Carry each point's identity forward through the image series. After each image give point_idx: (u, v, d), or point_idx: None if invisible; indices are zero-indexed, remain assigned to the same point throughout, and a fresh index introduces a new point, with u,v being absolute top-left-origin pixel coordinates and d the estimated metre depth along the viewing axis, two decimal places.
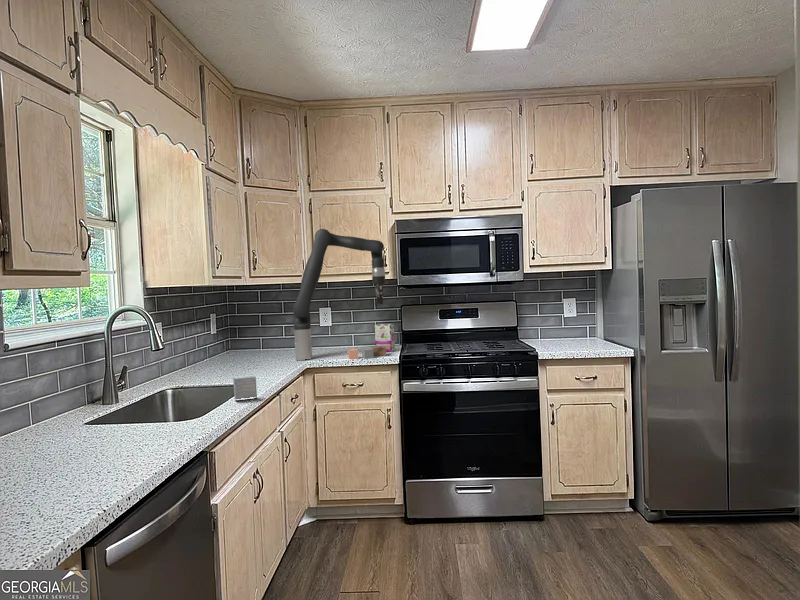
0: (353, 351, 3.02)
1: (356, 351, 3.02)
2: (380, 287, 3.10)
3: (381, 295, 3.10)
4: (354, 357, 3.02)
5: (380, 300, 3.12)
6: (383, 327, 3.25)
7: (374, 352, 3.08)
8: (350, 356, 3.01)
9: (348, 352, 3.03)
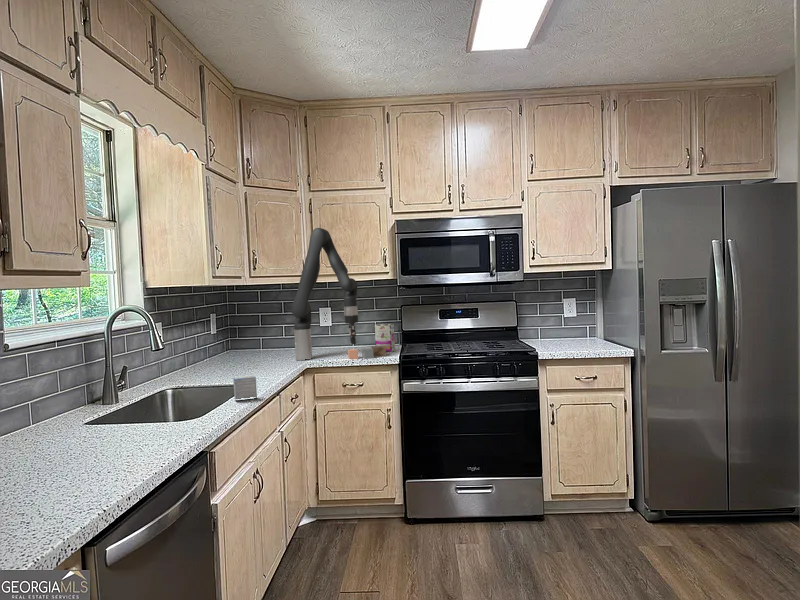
0: (353, 351, 3.02)
1: (356, 351, 3.02)
2: (352, 327, 2.97)
3: (354, 335, 2.97)
4: (354, 357, 3.02)
5: (353, 340, 2.99)
6: (383, 327, 3.25)
7: (374, 352, 3.08)
8: (350, 356, 3.01)
9: (348, 352, 3.03)
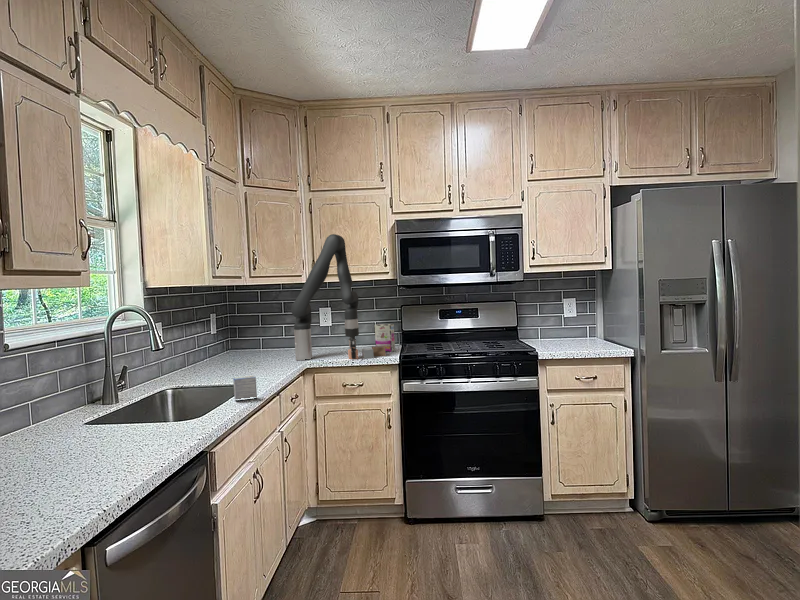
0: None
1: (356, 351, 3.02)
2: (353, 342, 2.97)
3: (354, 350, 2.98)
4: None
5: (353, 355, 3.00)
6: (383, 327, 3.25)
7: (374, 352, 3.08)
8: (350, 356, 3.01)
9: (348, 352, 3.03)
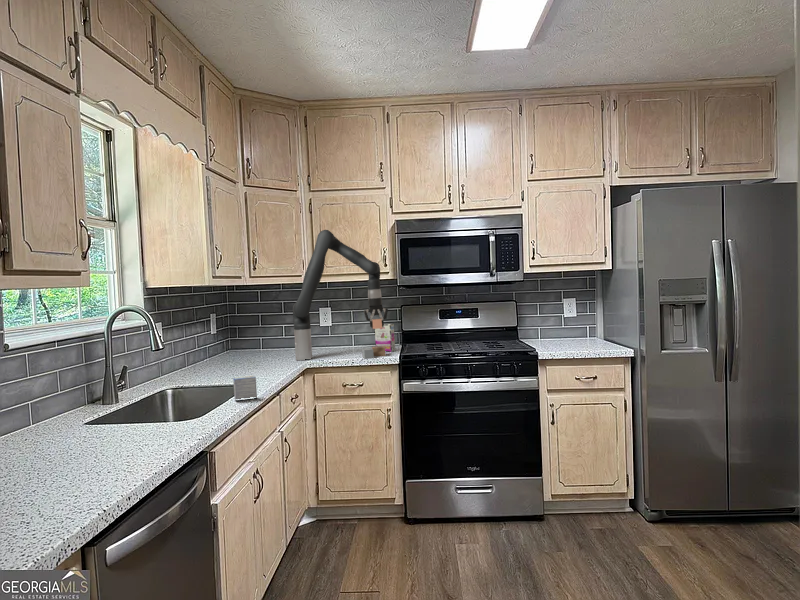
0: (372, 320, 3.09)
1: (372, 321, 3.07)
2: (364, 312, 3.08)
3: (366, 319, 3.08)
4: None
5: (370, 324, 3.09)
6: (383, 327, 3.25)
7: (374, 352, 3.08)
8: None
9: None
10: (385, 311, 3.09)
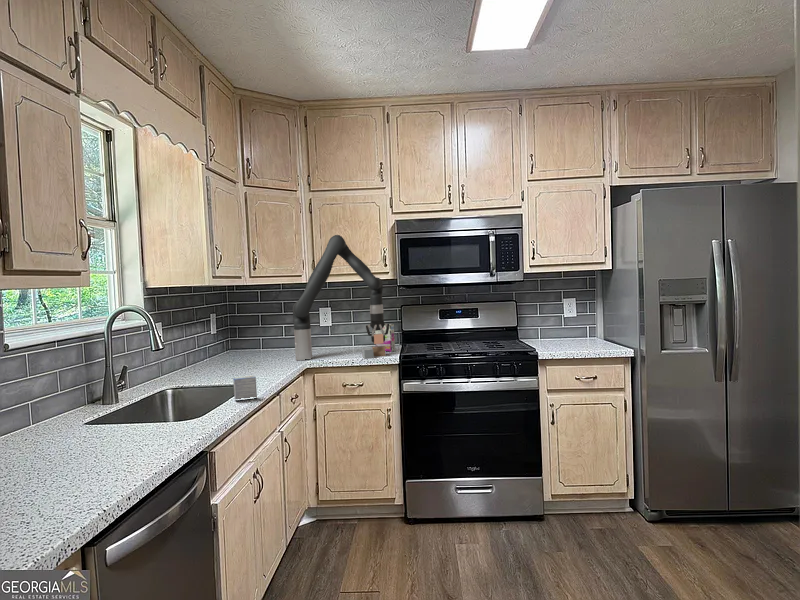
0: None
1: (374, 336, 3.09)
2: None
3: (368, 334, 3.10)
4: (374, 341, 3.10)
5: (371, 339, 3.11)
6: (383, 327, 3.25)
7: (373, 352, 3.08)
8: None
9: None
10: (387, 326, 3.11)
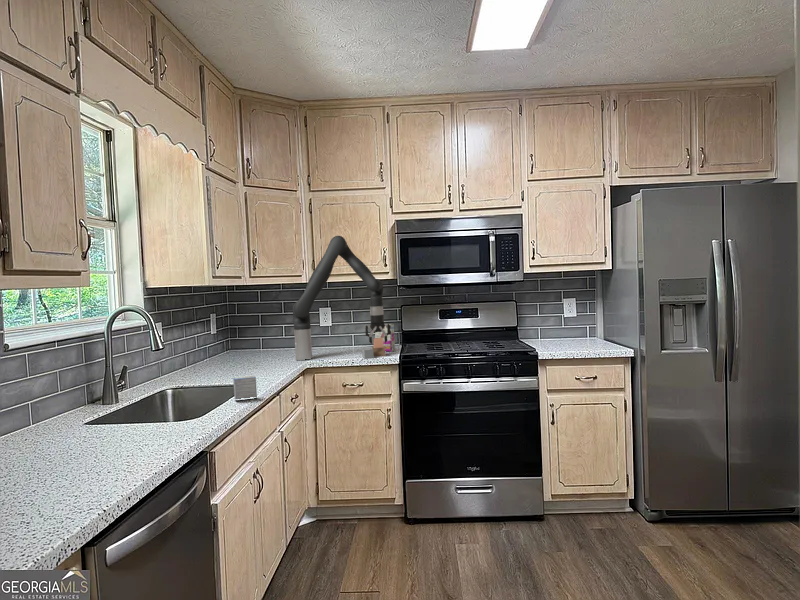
0: (373, 339, 3.11)
1: (374, 340, 3.09)
2: (365, 327, 3.10)
3: None
4: (374, 345, 3.10)
5: (369, 340, 3.11)
6: None
7: (373, 352, 3.08)
8: None
9: None
10: (387, 327, 3.11)
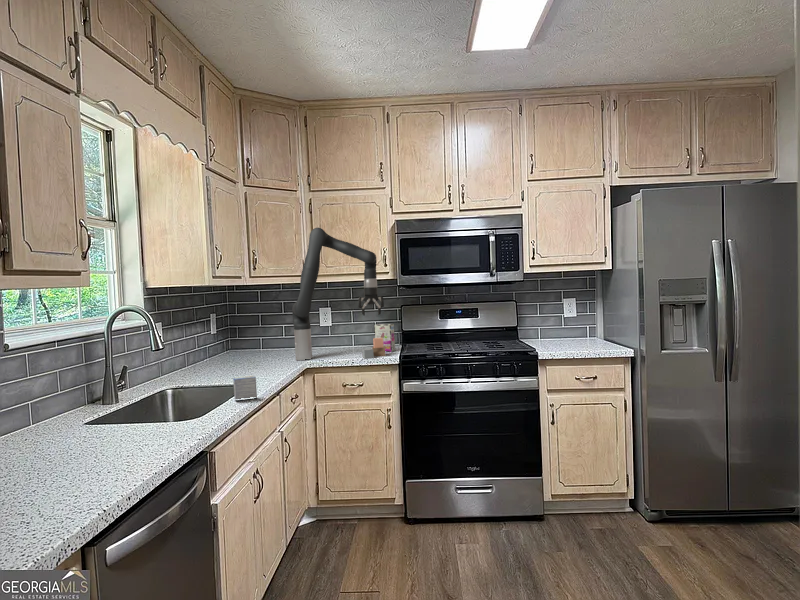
0: (373, 339, 3.11)
1: (374, 340, 3.09)
2: None
3: None
4: (374, 345, 3.11)
5: (362, 311, 3.11)
6: (383, 327, 3.25)
7: (373, 352, 3.08)
8: (373, 344, 3.13)
9: None
10: (381, 299, 3.11)
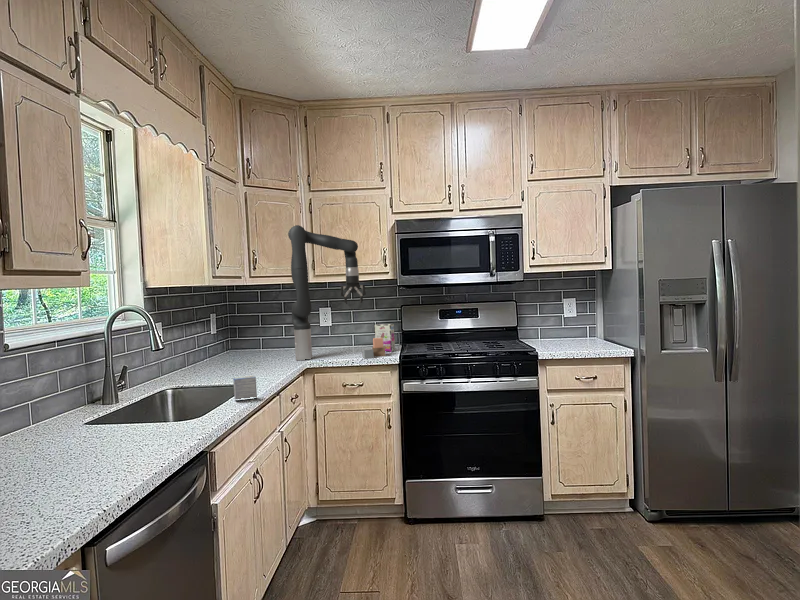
0: (373, 339, 3.11)
1: (373, 340, 3.09)
2: (341, 287, 3.17)
3: (341, 295, 3.17)
4: (373, 345, 3.11)
5: (344, 300, 3.18)
6: (383, 327, 3.25)
7: (373, 352, 3.08)
8: (373, 344, 3.13)
9: None
10: (362, 287, 3.18)
